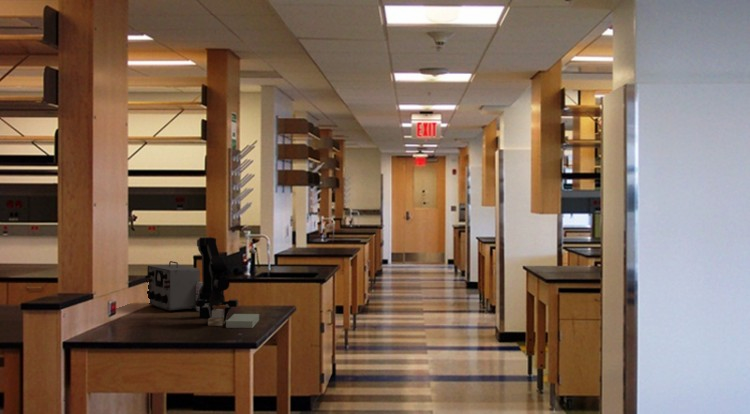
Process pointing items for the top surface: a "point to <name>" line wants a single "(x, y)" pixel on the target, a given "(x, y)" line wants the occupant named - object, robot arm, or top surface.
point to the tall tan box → (216, 321)
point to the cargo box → (217, 313)
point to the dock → (242, 321)
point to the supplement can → (198, 286)
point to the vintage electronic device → (172, 286)
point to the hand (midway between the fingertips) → (217, 321)
